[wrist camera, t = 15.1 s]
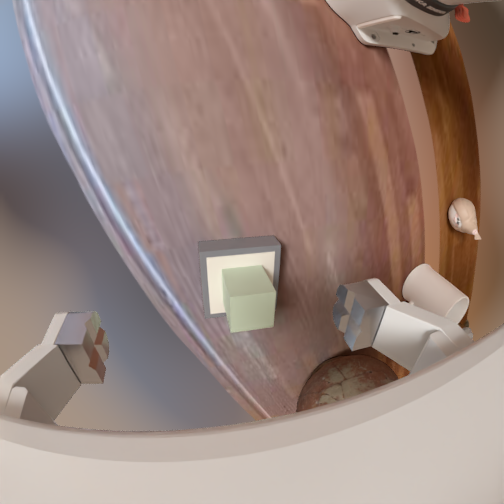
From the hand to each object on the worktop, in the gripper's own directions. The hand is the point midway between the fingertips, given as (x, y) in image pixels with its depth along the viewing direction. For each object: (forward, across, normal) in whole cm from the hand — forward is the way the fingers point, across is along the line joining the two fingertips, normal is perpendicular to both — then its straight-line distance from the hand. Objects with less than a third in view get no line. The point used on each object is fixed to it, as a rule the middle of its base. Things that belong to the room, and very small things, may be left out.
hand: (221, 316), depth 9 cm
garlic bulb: (+27, -47, +7) cm, 54 cm away
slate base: (+26, -4, +15) cm, 30 cm away
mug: (+27, -39, +23) cm, 53 cm away
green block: (+23, -5, +14) cm, 27 cm away
